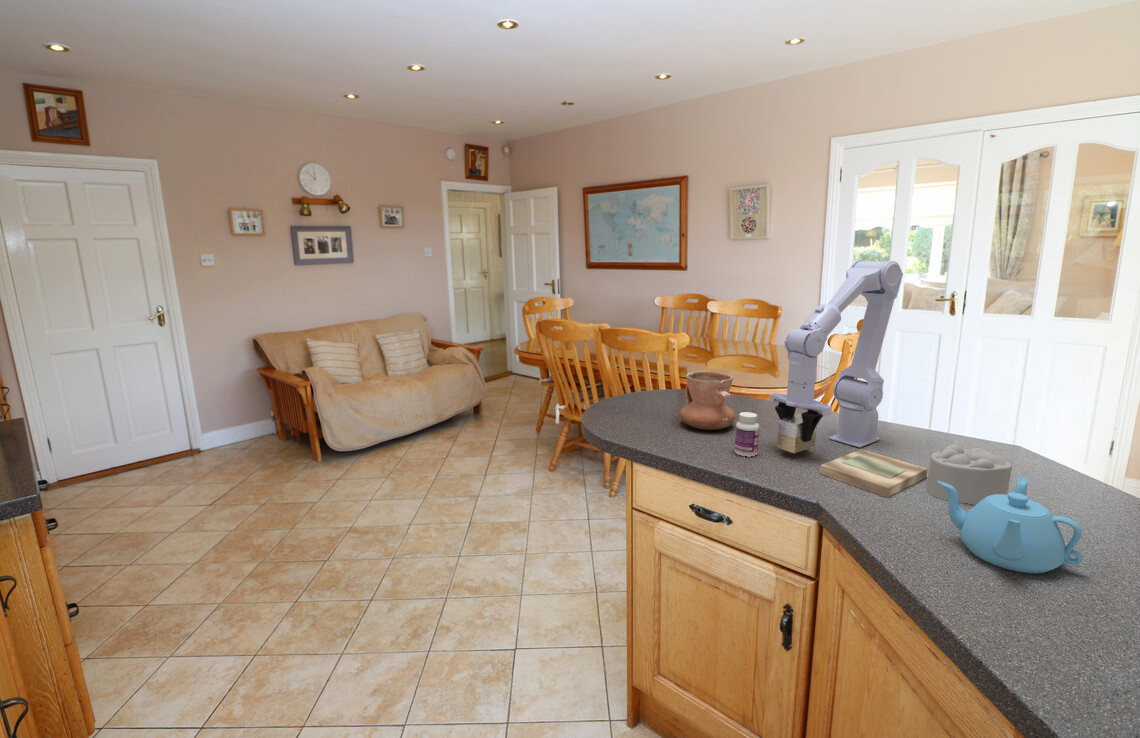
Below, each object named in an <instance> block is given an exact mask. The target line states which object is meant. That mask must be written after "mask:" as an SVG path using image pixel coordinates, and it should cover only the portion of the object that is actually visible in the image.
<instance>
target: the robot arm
mask: <svg viewBox="0 0 1140 738" xmlns="http://www.w3.org/2000/svg"><path fill="white" fill-rule="evenodd" d="M903 277H904V273H903V270H902V268H901V266H900V265H899V263H898V262H897V261H894V260H890V261H885V260H884V261H881V260H880V261H879V260H877V261H876V260H874V261H873V260H861V259H860V260H858V259H857V260H856V261H853V263H852V264H851V265H850V267H849V268H847V270H846V274H845V280H844V282H842V284H841V285H840V287H839V288H838V289H837V291H836V292H835V293H834V295H833V296H832V297H831V299H830V300H829V302H828V303H827V304H821V305H817V307H815V309H814V311H813V312H812V313H811V314H810V316H809V317H807V319H806V320H805V321H804V322H803V323H802V324H801V326H800V327H799V328H794V329H792V330H791V331H790V332H788V334H787V336H786V338H785V340H784V344H783V345H784V348H785V350H786V352H787V360H788V361H789V362H788V375H787V390H786V393H785V394H784V393H778V392H773V393H770V395H769V396H770V397H769V402H770V403H776V404H777V403H778V404H777V405H776V406H775V407H774V411H775V412H776V413H777V416H778V418H779V420H780V419H783V418H786V417H789V416H793V415H796V414H795V413H796V411H797V410H796V409H801V410H803V412H800V413H801V416H802V420H803V441H804V442H808V441H810V440H811V438H812V435H813V432H814V430H815V428H816V426H817V427H818V424H819V422H820V421H821V419H822V418H823V417H828V416H829V417H830V416H831V415H832V410H833V406H832V405H828V404H824V403H823V402H820V401H818V400H815V399H814V396H815V385H816V376H817V375H816V373H817V362H818V361H817V360H818V356H819V355H820V354H821V353H823V351H824V348H825V345H826V342H827V340H828V336H829V335H830V334H831V333H832V331H834V329H835V328H836V327H837V326H838V325H839V323H840V322H841V321H842V314H841V313H842V312H843V311H845V310H846V308H847V307H848V306H849V305H851V303H853V302H854V301H855V300H856V299H857V298H858V297H859V296H860V295H861V296H862V297H864V298H865V300H866V301H867V305H866V308H865V313H864V316H863V320H862V323H861V327H860V331H859V333H858V334H859V335H858V339H857V343H856V347H855V350H854V353H853V357H852V361H851V365H849V366H847V367H846V368H844V369H842V370H841V371H839V376H838V378H837V380H836V381H835V382H834V385H833V388H832V392H833V397H834V398H835V400H837V404H838V405H839V408H838V409H839V410H838V421H837V429H836V431H837V433H836V434H834V435H831V436H829V440H832V441H835V442H839V443H842V444H846V445H849V446H852V447H854V448H855V447H856V448H860V449H861V448H863V447H865V446H868V445H870V444H873V443H876V442H878V441H880V439H881V438H880V437H877V433H878V424H879V423H878V422H879V412H878V410H877V407H878V406H879V405H880V404H881V403H882V400H883V395H884V392H883V387H884V381H885V380H884V379H883V377H882V376H881V375H880V374H879V372H878V371H877V370H876V369H877V365H878V361H879V358H880V354H881V351H882V347H883V343H884V340H885V336H886V332H887V328H888V325H889V321H890V319H891V314H892V310H893V306H894V303H895V299H897V298H898V294H899V291H900V286H901V283H902V279H903ZM856 378H857V379H856ZM861 379H862V380H861ZM804 410H805V411H804Z"/></svg>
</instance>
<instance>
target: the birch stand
mask: <svg viewBox="0 0 1140 738" xmlns="http://www.w3.org/2000/svg"><path fill="white" fill-rule="evenodd" d="M819 471H820V472H819V475H822V476H825V477H827V476H828V478H831V479H834V480H836V481H838V482H842V483H845V484H848V485H850V486H853V487H855V486H856V487H855V488H858V487H859V488H858V489H861V488H862V489H861V490H864V489H865V491H866V490H867V492H869V493H873V494H876V495H879V496H881V497H883V498H886V499H888V498H889V497H891V496H893V495H895V494H897V493H899V492H901V491H903V490H905V489H907V488H908V487H911V486H913V485H915V484H917V483H919V482H921V481H922V479H923V480H925V479H927V478H928V471H929V468H927V467H923V466H920V465H916V464H912V463H910V462H908V461H907V462H906V461H902V460H900V459H896V458H893V457H889V456H887V455H882V454H879V453H876V452H873V451H869V450H866V449H863V448H860V449H858V450H856V451H853V452H850V453H848V454H846V455H843V456H840V457H838V458H835V459H833V460H830V461H827V462H825V463H822V464H820V470H819ZM924 478H925V479H924ZM920 480H921V481H920ZM918 481H919V482H918Z"/></svg>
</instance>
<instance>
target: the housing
mask: <svg viewBox="0 0 1140 738" xmlns="http://www.w3.org/2000/svg"><path fill="white" fill-rule="evenodd" d="M801 413H802V412H799V413H797V414H794V415H793V416H789V417H786V418H783V419H780V418H779V419H778V432H777V433H778V434H777V448H778V449H781V450H784V451H785V452H789V453H793V454H796V453H799V452H802V451H805V450H808V449H810V448H813V447H815V446H816V440H817V427H818V425H817V426H816V428H815V430H814V432H813V435H812V438H811V440H810V441H808V442H804V441H803V420H802V416H801Z"/></svg>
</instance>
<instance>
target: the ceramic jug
mask: <svg viewBox="0 0 1140 738" xmlns="http://www.w3.org/2000/svg"><path fill="white" fill-rule="evenodd" d="M685 378H686V386H685V397H686V401H687V405H684V406H683V407H682V409H681V411H680V418H681V420H682V422H684V423H685V424H686V425H687V426H690V427H691V428H694V429H698V430H702V431H703V430H704V431H717V430H723V429H725V428H728V427H730V426H731V425H733V423H734V422H735V420H736V413H735V411H734V409H732V408H731V407H730V406H728V405H727V404H726V403H725V400H726V399H728V398H729V397H731V394H730V389H731V387H732V384H733V376H732V375H731V374H727V373H721V372H717V371H716V372H715V371H709V370H702V371H701V370H698V371H692V372H687V374H686V377H685Z"/></svg>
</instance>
